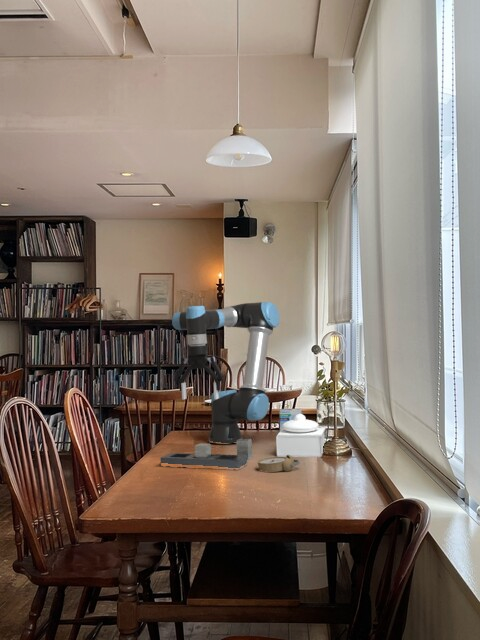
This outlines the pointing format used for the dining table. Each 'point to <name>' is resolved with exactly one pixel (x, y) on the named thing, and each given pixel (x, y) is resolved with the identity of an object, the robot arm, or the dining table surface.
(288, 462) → the alarm clock
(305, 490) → the dining table surface
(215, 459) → the grey metal flat frame
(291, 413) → the light bulb box
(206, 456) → the grey rectangular block
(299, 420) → the white box with dome
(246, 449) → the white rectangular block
